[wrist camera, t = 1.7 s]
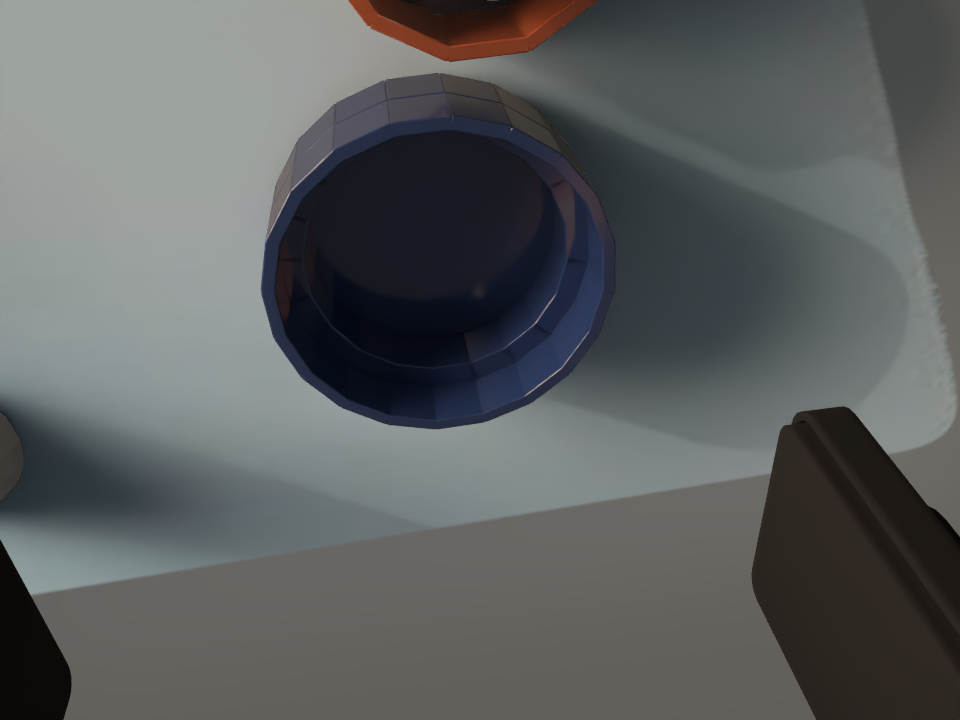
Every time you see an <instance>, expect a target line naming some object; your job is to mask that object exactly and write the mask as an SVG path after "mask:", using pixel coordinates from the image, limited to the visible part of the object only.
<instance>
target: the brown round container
mask: <svg viewBox="0 0 960 720" xmlns="http://www.w3.org/2000/svg"><path fill="white" fill-rule="evenodd" d="M348 1H349V2H350V4H351V5H352V6H353V8H354V9H355V10H356V11H357V13H358V14H359V15H360V17H361V18H362V19H363V21H364V22H365V23H366V25H367V26H370V28H371V29H373V30H375V31H378V32H380V33H382V34H385V35H387V36H389V37H391V38H394V39H396V40H398V41H401V42H403V43H405V44H407V45H410V46H412V47H414V48H416V49H419V50H421V51H423V52H426V53H428V54H430V55H432V56H435V57H437V58H439V59H442V60H444V61H449V62H453V61H461V60H469V59H477V58H485V57H493V56H501V55H509V54H517V53H525V52H529V50H530V51H531V50H533V49H535V48H536V47H537V46H539V45H540V44H541V43H543V42H544V41H545V40H547V39H548V38H549V37H551V36H552V35H553V34H555V33H556V32H557V31H559V30H560V29H561V28H563V27H564V26H565V25H567V24H568V23H569V22H571V21H572V20H573V19H575V18H576V17H577V16H579V15H580V14H581V13H583V12H584V11H585V10H587V9H588V8H589V7H591V6H592V5H593V4H595V3H596V2H597V1H599V0H513V1H512V2H510V3H509V4H508V5H506V6H505V7H498V8H490V9H481V10H473V11H465V12H457V13H449V14H441V15H438V14H436V13H434V12H431V11H429V10H427V9H425V8H423V7H420V6H418V5H416V4H414V3H412V2H409V1H407V0H348Z"/></svg>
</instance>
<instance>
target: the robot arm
mask: <svg viewBox="0 0 960 720" xmlns="http://www.w3.org/2000/svg"><path fill="white" fill-rule="evenodd" d="M752 584H753V589H754V593H755V596H756V599H757V601H758V603H759V605H760V607H761V609H762V611H763V613H764V615H765V617H766V619H767V621H768V623H769V625H770V627H771V629H772V631H773V633H774V635H775V637H776V639H777V641H778V643H779V645H780V647H781V649H782V651H783V653H784V655H785V658H786V660H787V662H788V663H789V666H790V668H791V669H792V672H793V674H794V675H795V678H796V680H797V682H798V684H799V686H800V688H801V690H802V692H803V694H804V696H805V698H806V700H807V702H808V704H809V706H810V708H811V710H812V712H813V714H814V716H815V718H816V720H960V537H959V535H958V534H957V533H956V532H955V530H954V529H953V528H952V527H951V525H950V524H949V523H948V522H947V520H946V519H945V518H944V517H943V516H942V515H940V513H939V512H937V510H935V509H933V508H931V507H929V506H928V505H927V504H926V503H925V502H924V500H923V499H922V498H921V497H920V495H919V494H918V493H917V491H916V490H915V489H914V488H913V486H912V485H911V484H910V483H909V481H908V480H907V479H906V478H905V476H904V475H903V474H902V473H901V471H900V470H899V469H898V468H897V466H896V465H895V464H894V462H893V461H892V460H891V459H890V457H889V456H888V455H887V454H886V452H885V451H884V450H883V449H882V447H881V446H880V445H879V444H878V442H877V441H876V440H875V438H874V437H873V436H872V435H871V433H870V432H869V431H868V430H867V428H866V427H865V426H864V425H863V423H862V422H861V421H860V420H859V418H858V417H857V416H856V414H855V413H854V412H853V411H851V410H850V409H849V408H847V407H844V406H843V407H835V408H827V409H819V410H811V411H803V412H799V413H797V414H796V415H795V416H794V418H793V421H792V424H791V425H786V426H783V428H782V429H781V431H780V434H779V438H778V443H777V448H776V453H775V458H774V463H773V468H772V473H771V478H770V483H769V488H768V493H767V498H766V503H765V508H764V513H763V518H762V523H761V528H760V533H759V538H758V543H757V548H756V553H755V557H754V562H753V567H752ZM70 694H71V673H70V669H69V666H68V664H67V662H66V660H65V658H64V656H63V654H62V653H61V651H60V649H59V647H58V646H57V643H56V641H55V640H54V638H53V636H52V634H51V632H50V630H49V629H48V627H47V625H46V623H45V621H44V619H43V617H42V616H41V614H40V612H39V610H38V609H37V606H36V605H35V603H34V601H33V599H32V597H31V595H30V594H29V592H28V590H27V588H26V586H25V584H24V582H23V581H22V579H21V577H20V575H19V573H18V571H17V570H16V568H15V566H14V564H13V562H12V560H11V558H10V557H9V555H8V553H7V551H6V549H5V547H4V546H3V544H2V542H1V540H0V720H63V719H64V715H65V712H66V709H67V706H68V702H69V698H70Z"/></svg>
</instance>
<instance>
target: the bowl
mask: <svg viewBox="0 0 960 720" xmlns="http://www.w3.org/2000/svg"><path fill="white" fill-rule="evenodd" d="M614 292H615V239H614V236H613V234H612V231H611V228H610V226H609V223H608V220H607V217H606V215H605V212H604V209H603V207H602V204H601V201H600V198H599V196H598V194H597V192H596V191H595V189H594V187H593V186H592V184H591V182H590V181H589V179H588V177H587V175H586V174H585V172H584V170H583V169H582V167H581V165H580V164H579V162H578V160H577V159H576V157H575V155H574V154H573V152H572V150H571V149H570V147H569V145H568V144H567V143H566V142H565V141H564V139H563V138H562V137H561V136H560V135H559V134H558V132H557V131H556V130H555V129H554V128H553V127H552V125H551V124H550V123H549V122H548V121H547V120H546V118H545V117H544V116H543V115H542V114H541V113H540V111H538V110H537V109H536V108H535V107H533V106H531V105H530V104H528V103H526V102H524V101H523V100H521V99H519V98H517V97H516V96H514V95H512V94H510V93H509V92H507V91H505V90H503V89H502V88H500V87H498V86H497V85H495V84H491V83H488V82H483V81H478V80H473V79H468V78H463V77H458V76H453V75H448V74H443V73H441V74H438V73H435V74H427V75H419V76H411V77H403V78H395V79H387V80H385V81H381V82H379V83H377V84H375V85H373V86H371V87H368V88H366V89H364V90H362V91H360V92H358V93H356V94H354V95H352V96H350V97H348V98H345V99H343V100H341V101H339V102H337V103H336V104H334V105H333V106H332V107H331V108H330V109H329V110H328V111H327V112H326V113H325V114H324V115H323V116H322V117H321V118H320V119H319V120H318V121H317V122H315V123H314V124H313V125H312V126H311V127H310V128H309V129H308V130H307V131H306V132H305V133H304V134H303V135H302V136H301V137H300V138H299V139H298V141H297V142H296V144H295V146H294V148H293V150H292V152H291V154H290V156H289V159H288V161H287V163H286V165H285V167H284V169H283V171H282V173H281V175H280V177H279V179H278V181H277V183H276V186H275V191H274V197H273V202H272V208H271V213H270V219H269V224H268V230H267V236H266V241H265V251H264V261H263V271H262V281H261V294H262V298H263V302H264V305H265V309H266V313H267V316H268V320H269V323H270V327H271V331H272V334H273V337H274V340H275V341H276V342H277V344H278V345H279V347H280V348H281V350H282V351H283V352H284V354H285V355H286V357H287V358H288V359H289V361H290V362H291V364H292V365H293V367H294V368H295V369H296V371H297V372H298V374H299V375H300V376H301V378H303V380H305V381H306V382H307V383H309V384H310V385H311V386H313V387H314V388H315V389H317V390H318V391H319V392H321V393H322V394H323V395H325V396H326V397H328V398H329V399H330V400H332V401H333V402H334V403H336V404H337V405H338V406H340V407H342V408H344V409H346V410H349V411H352V412H354V413H357V414H360V415H362V416H365V417H368V418H370V419H373V420H376V421H378V422H381V423H384V424H388V425H396V426H406V427H416V428H426V429H443V428H450V427H456V426H463V425H470V424H477V423H483V422H485V421H486V422H487V421H489V420H492V419H494V418H497V417H499V416H501V415H504V414H506V413H509V412H511V411H514V410H516V409H518V408H521V407H523V406H526V405H528V404H530V402H531V403H532V402H533V401H535V400H536V399H537V398H539V397H540V396H541V395H543V394H544V393H545V392H547V391H548V390H549V389H551V388H552V387H553V386H555V385H556V384H557V383H558V382H560V381H561V380H562V379H564V378H565V377H566V376H568V375H569V373H571V372H572V370H573V369H574V368H575V367H576V365H577V364H578V363H579V361H580V360H581V359H582V357H583V356H584V355H585V353H586V352H587V351H588V349H589V348H590V347H591V345H592V344H593V343H594V341H595V340H596V339H597V337H598V335H599V334H600V331H601V328H602V326H603V323H604V320H605V317H606V314H607V312H608V309H609V306H610V303H611V300H612V298H613V295H614Z"/></svg>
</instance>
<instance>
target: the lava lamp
mask: <svg viewBox="0 0 960 720" xmlns="http://www.w3.org/2000/svg"><path fill="white" fill-rule="evenodd" d="M23 465H24V457H23V451H22V446H21V440H20V438H19V437H18V435H17V433H16V432H15V430H14V428H13V427H12V425H11V424H10V422H9V420H8V419H7V417H6V416H4V415H3V414H2V413H1V412H0V501H1V500H2V499H3V498H4V497H5V496H6V495H7V494H8V493H9V492H10V491H11V490H12V489H13V487H14V486H15V485H16V484H17V483H18V482H19V478H20V475H21V472H22V468H23Z"/></svg>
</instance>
